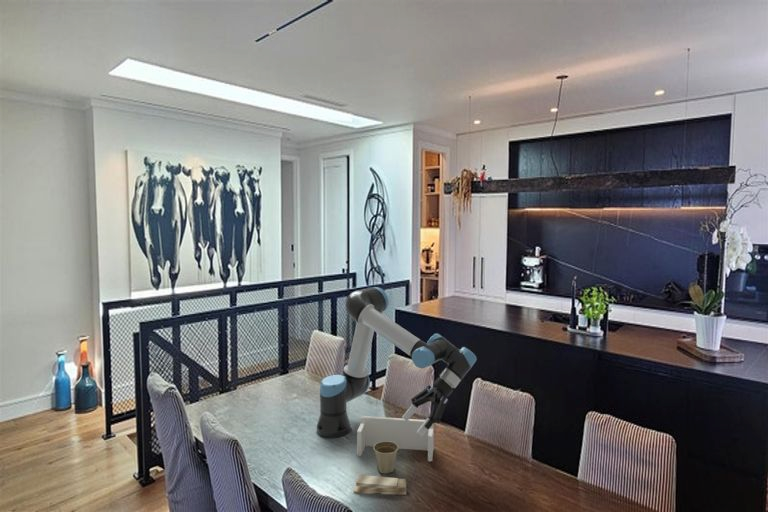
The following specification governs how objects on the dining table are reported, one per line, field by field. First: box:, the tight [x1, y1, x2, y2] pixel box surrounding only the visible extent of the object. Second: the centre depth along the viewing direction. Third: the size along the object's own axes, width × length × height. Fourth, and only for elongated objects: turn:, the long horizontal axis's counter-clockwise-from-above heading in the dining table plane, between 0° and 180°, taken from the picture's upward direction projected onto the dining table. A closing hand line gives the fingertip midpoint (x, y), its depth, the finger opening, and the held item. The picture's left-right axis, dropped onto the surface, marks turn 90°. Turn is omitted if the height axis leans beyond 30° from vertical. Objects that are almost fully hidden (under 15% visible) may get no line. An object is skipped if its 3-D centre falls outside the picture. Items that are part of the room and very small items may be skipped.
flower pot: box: [372, 441, 400, 474], centre depth 168 cm, size 9×9×9 cm
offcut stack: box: [353, 474, 407, 496], centre depth 156 cm, size 18×7×4 cm, turn 86°
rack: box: [356, 415, 435, 462], centre depth 180 cm, size 30×10×12 cm, turn 81°
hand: (411, 426), depth 170 cm, fingers open, 13 cm apart
